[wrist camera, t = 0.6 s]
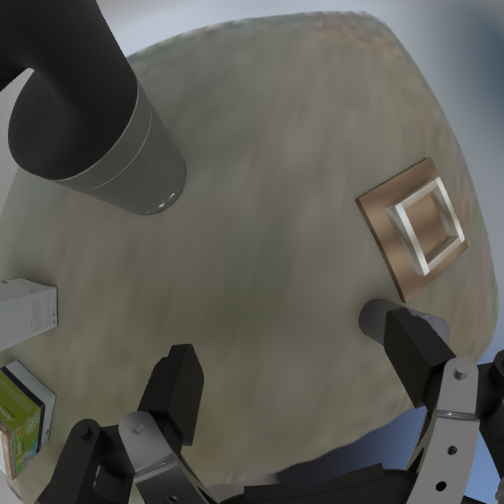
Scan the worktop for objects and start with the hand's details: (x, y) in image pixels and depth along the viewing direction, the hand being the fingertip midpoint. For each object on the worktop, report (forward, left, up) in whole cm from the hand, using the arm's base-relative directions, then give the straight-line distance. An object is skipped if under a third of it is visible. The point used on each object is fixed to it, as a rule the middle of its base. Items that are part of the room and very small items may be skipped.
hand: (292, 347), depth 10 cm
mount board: (+5, +23, -21) cm, 31 cm away
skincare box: (-12, -29, -21) cm, 38 cm away
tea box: (+1, -45, -21) cm, 50 cm away
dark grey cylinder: (+12, +11, -21) cm, 26 cm away
